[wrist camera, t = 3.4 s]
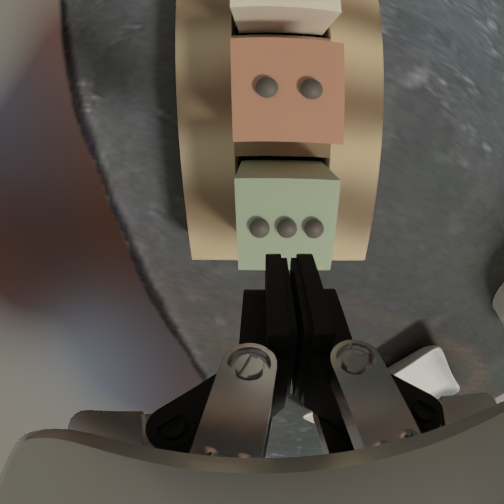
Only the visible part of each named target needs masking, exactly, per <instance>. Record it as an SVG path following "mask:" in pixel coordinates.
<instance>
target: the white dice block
mask: <svg viewBox="0 0 504 504" xmlns="http://www.w3.org/2000/svg"><path fill="white" fill-rule="evenodd" d="M230 9H231V12H232V15H233V17H234V20H235V23H236V26H237V29H238V32H239V33H295V34H309V35H319V36H322V35H323V34H324V32H325V31H326V30H327V29H328V28H329V27H330V25H331V24H332V23H333V22H334V21H335V20H336V18H337V17H338V16H339V15H340V14H341V13H342V9H341V0H230Z"/></svg>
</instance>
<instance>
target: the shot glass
mask: <svg viewBox="0 0 504 504" xmlns="http://www.w3.org/2000/svg"><path fill="white" fill-rule="evenodd" d="M492 306H493V308H494V310H495V311H496V313H497V315H498V316H499V318H500V320H501V322H502V323H503V325H504V283H503V284H502V285H501V286H500V287H499V289H498V291H497V292H496V294H495V296H494V299H493V304H492Z"/></svg>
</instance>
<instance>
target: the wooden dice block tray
mask: <svg viewBox="0 0 504 504" xmlns="http://www.w3.org/2000/svg"><path fill="white" fill-rule="evenodd" d="M341 9H342V13H341V14H340V15H339V16H338V17H337V18H336V20H335V21H334V22H333V23H332V24H331V25H330V27H329V28H328V29H327V30H326V31H325V32H324V34H323V35H322V36H321V38H319V37H308V36H294V35H237V36H236V23H235V20H234V17H233V15H232V12H231V9H230V0H176V24H175V63H176V96H177V116H178V132H179V146H180V159H181V170H182V180H183V190H184V199H185V208H186V217H187V225H188V233H189V240H190V247H191V254H192V260H238V251H237V230H236V209H235V185H234V178H235V175H236V173H237V171H238V168H239V156H301V157H321V160H320V161H321V162H323V163H324V164H325V165H326V166H327V167H328V168H329V169H330V170H331V171H332V172H333V173H334V174H335V175H336V176H337V177H338V178H339V179H340V180H341V184H340V195H339V205H338V215H337V224H336V232H335V240H334V247H333V254H332V260H365V257H366V252H367V247H368V242H369V236H370V231H371V225H372V219H373V213H374V206H375V199H376V192H377V184H378V176H379V166H380V156H381V144H382V129H383V105H384V66H383V43H382V30H381V19H380V10H379V2H378V0H341ZM247 37H283V38H302V39H314V40H324V41H332V42H339V43H344V64H345V112H344V140H343V145H340V144H327V143H309V142H276V141H252V142H233V131H232V97H231V54H230V38H247Z"/></svg>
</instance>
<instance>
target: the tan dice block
mask: <svg viewBox="0 0 504 504" xmlns="http://www.w3.org/2000/svg"><path fill="white" fill-rule="evenodd" d="M230 54H231V97H232V131H233V142H252V141H276V142H309V143H327V144H340V145H343V140H344V112H345V64H344V43H339V42H332V41H324V40H314V39H302V38H283V37H247V38H230Z"/></svg>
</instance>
